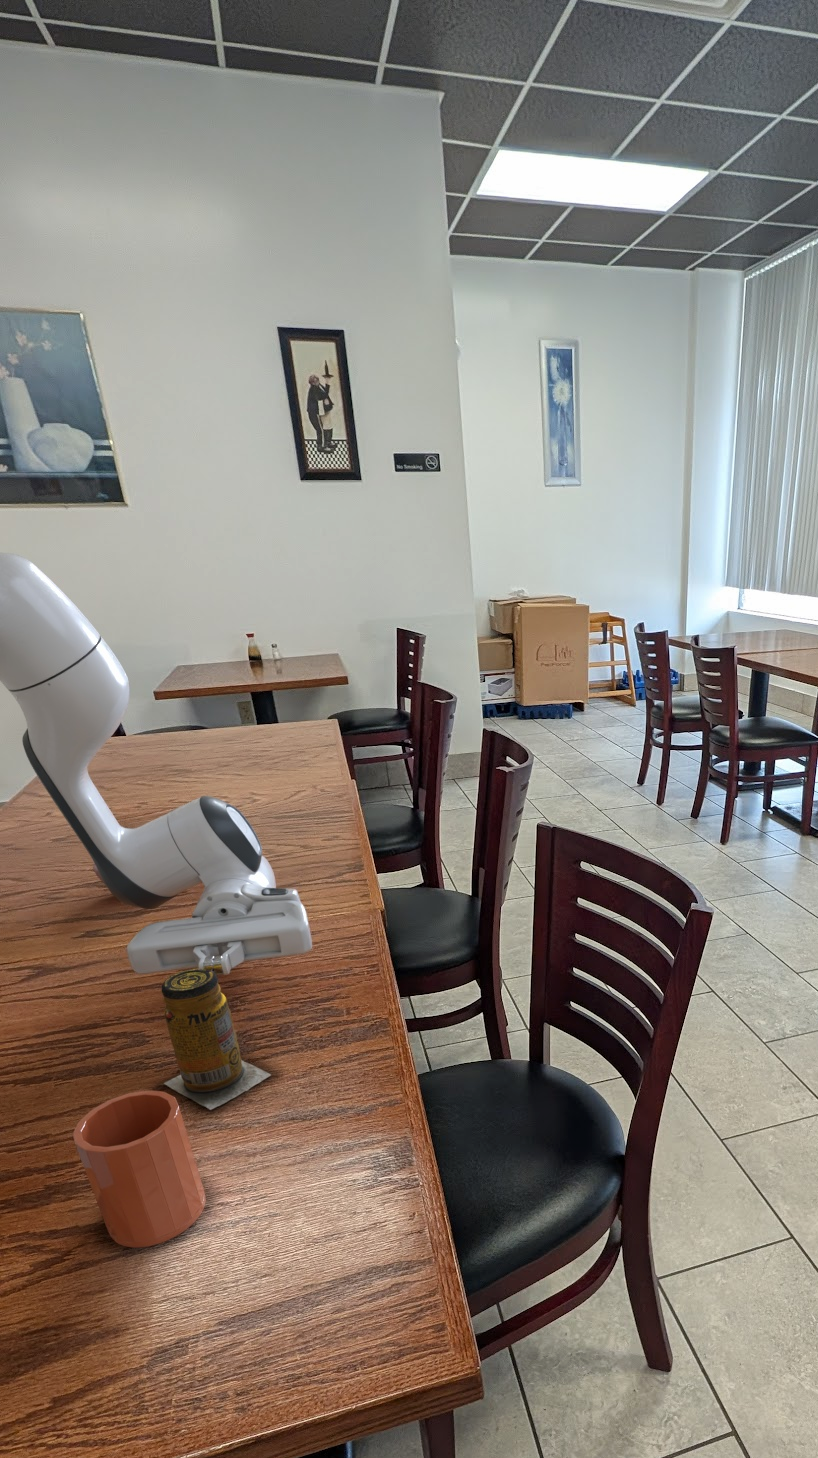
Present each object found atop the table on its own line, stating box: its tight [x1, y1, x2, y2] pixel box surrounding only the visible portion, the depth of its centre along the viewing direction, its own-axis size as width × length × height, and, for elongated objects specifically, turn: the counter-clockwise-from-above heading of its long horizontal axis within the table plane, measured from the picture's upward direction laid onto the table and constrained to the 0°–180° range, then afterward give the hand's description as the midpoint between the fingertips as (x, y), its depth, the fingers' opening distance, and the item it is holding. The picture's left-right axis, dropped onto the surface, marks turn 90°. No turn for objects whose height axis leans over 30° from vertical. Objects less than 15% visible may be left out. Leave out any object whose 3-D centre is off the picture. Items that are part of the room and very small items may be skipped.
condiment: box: [160, 968, 272, 1111], centre depth 84 cm, size 7×8×12 cm
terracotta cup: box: [72, 1089, 207, 1249], centre depth 68 cm, size 8×8×10 cm
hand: (213, 970), depth 91 cm, fingers closed
